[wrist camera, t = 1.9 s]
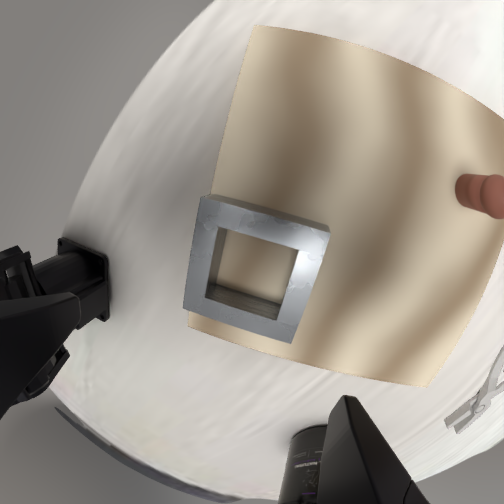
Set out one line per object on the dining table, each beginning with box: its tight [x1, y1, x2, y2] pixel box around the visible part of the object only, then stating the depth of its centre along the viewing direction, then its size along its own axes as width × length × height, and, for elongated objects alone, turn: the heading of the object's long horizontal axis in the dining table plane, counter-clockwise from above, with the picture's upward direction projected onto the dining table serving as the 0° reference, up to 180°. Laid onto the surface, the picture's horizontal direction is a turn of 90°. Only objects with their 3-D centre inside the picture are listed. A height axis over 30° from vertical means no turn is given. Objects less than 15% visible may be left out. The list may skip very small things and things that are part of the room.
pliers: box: [444, 345, 504, 434], centre depth 15 cm, size 10×2×15 cm
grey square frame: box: [183, 194, 331, 344], centre depth 15 cm, size 6×6×2 cm
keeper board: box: [188, 25, 504, 388], centre depth 12 cm, size 19×20×6 cm
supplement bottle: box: [278, 426, 327, 504], centre depth 16 cm, size 7×7×12 cm
